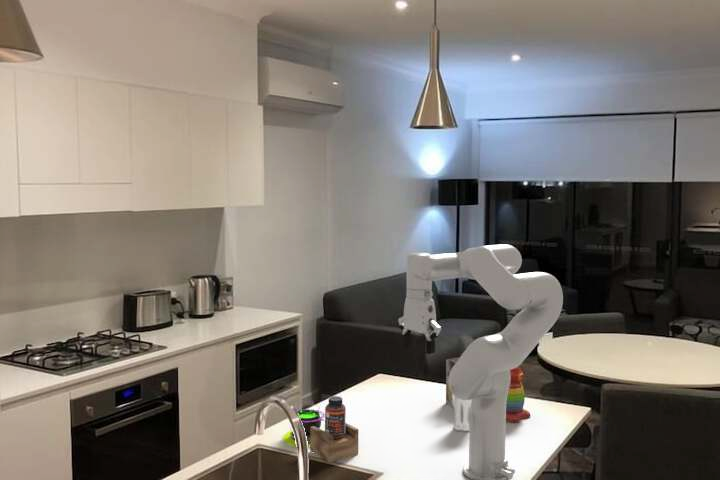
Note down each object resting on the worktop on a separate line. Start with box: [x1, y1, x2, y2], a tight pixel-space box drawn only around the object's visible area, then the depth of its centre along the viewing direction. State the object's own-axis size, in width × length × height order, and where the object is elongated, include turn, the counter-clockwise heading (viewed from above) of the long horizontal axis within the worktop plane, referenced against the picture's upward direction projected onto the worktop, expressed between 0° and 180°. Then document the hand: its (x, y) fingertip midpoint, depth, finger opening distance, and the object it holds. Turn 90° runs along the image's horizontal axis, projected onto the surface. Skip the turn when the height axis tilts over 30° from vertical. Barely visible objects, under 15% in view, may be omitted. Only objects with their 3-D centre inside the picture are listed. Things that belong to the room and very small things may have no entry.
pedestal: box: [309, 422, 359, 463], centre depth 192 cm, size 10×10×7 cm
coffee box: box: [445, 356, 461, 407], centre depth 233 cm, size 9×6×16 cm
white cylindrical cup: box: [452, 394, 472, 433], centre depth 212 cm, size 7×7×15 cm
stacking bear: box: [506, 366, 531, 424], centre depth 223 cm, size 11×10×18 cm
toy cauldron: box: [282, 400, 325, 448], centre depth 204 cm, size 15×15×11 cm
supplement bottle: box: [324, 395, 347, 439], centre depth 192 cm, size 6×6×11 cm
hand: (418, 350), depth 200 cm, fingers open, 9 cm apart
